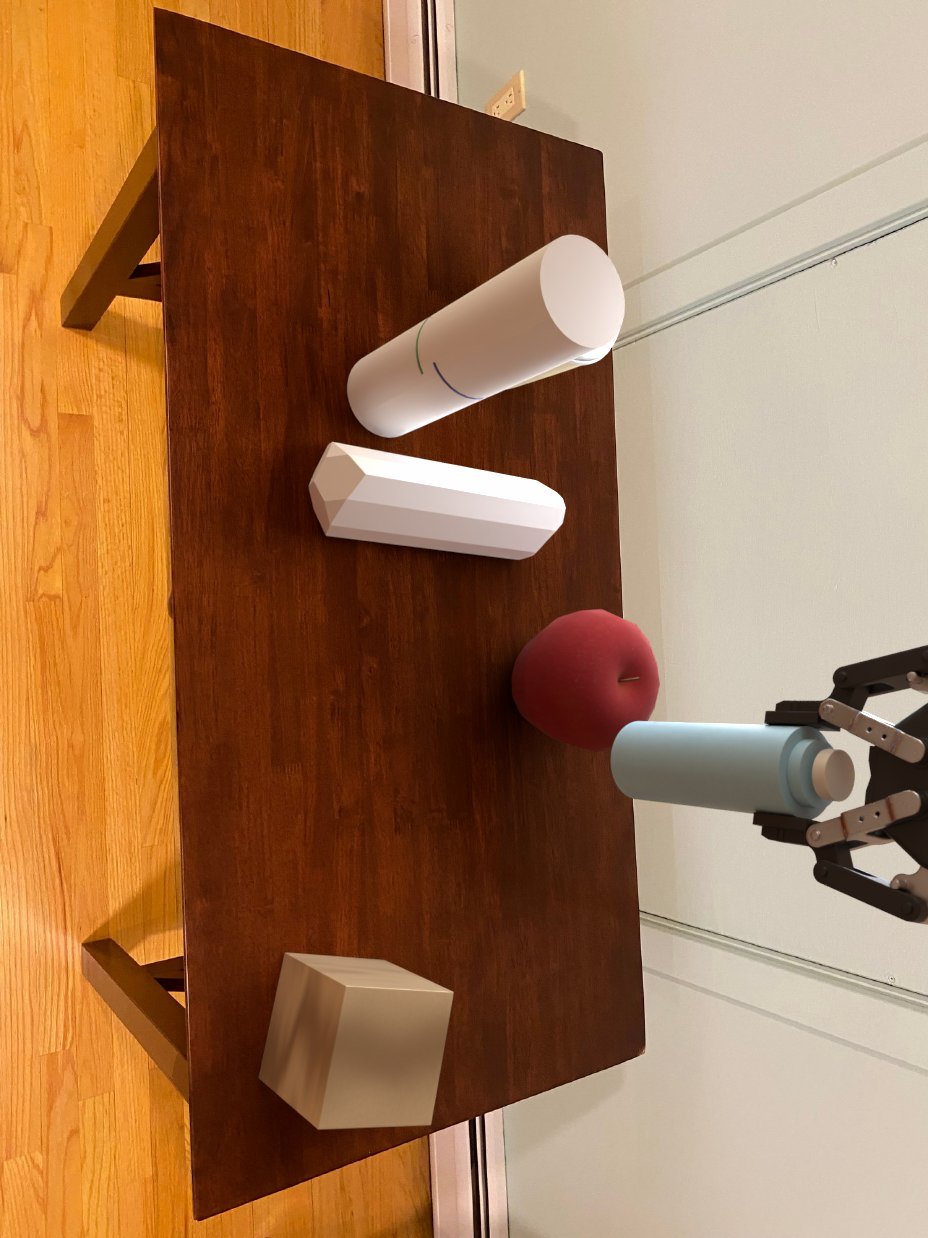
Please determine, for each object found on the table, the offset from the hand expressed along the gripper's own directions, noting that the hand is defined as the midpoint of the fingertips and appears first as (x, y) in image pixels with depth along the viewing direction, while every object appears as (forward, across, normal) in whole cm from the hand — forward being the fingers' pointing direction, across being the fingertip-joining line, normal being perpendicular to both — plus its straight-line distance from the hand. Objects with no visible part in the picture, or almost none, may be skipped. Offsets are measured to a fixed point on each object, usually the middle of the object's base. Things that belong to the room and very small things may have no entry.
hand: (768, 770), depth 54 cm
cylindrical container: (+33, -28, -13) cm, 45 cm away
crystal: (+33, -20, -7) cm, 39 cm away
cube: (+33, +22, -7) cm, 40 cm away
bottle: (+10, 0, 0) cm, 10 cm away
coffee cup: (+33, -36, -3) cm, 49 cm away
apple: (+33, -8, +8) cm, 34 cm away
